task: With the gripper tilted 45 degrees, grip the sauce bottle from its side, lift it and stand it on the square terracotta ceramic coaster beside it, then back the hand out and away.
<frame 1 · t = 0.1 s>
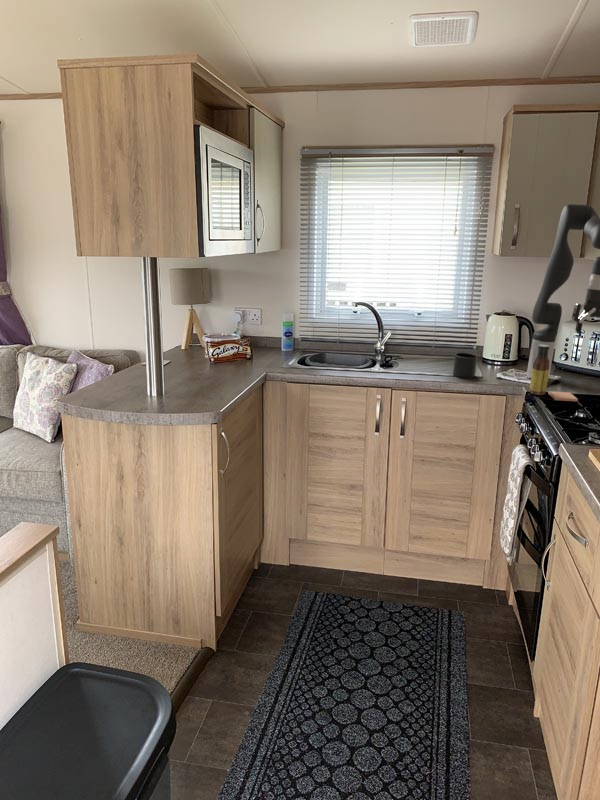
hand: (590, 333, 216), 29 cm above the counter, tool pointing down, fingers open, 8 cm apart
sauce bottle: (536, 394, 245), on the counter
coaster: (562, 397, 242), on the counter
mug: (462, 375, 268), on the counter
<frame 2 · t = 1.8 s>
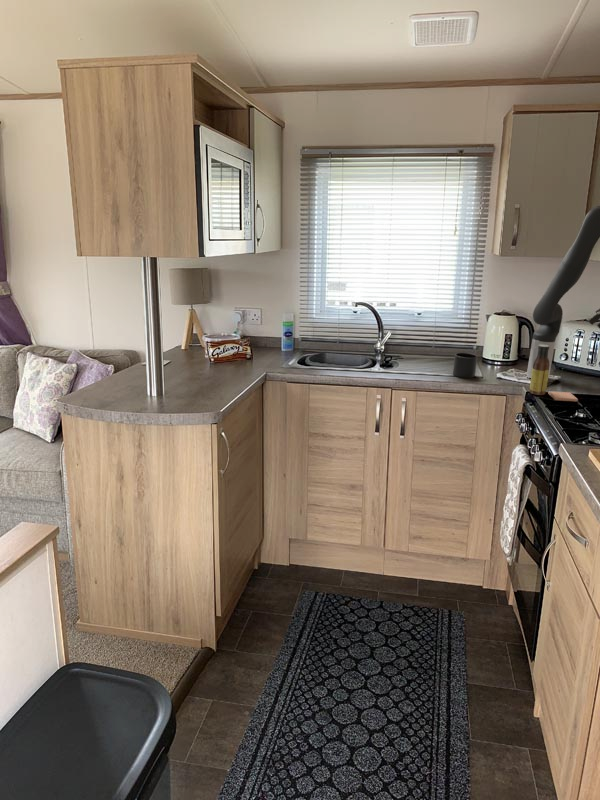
hand: (594, 324, 237), 29 cm above the counter, tool tilted 45°, fingers open, 8 cm apart
nothing on the counter moved.
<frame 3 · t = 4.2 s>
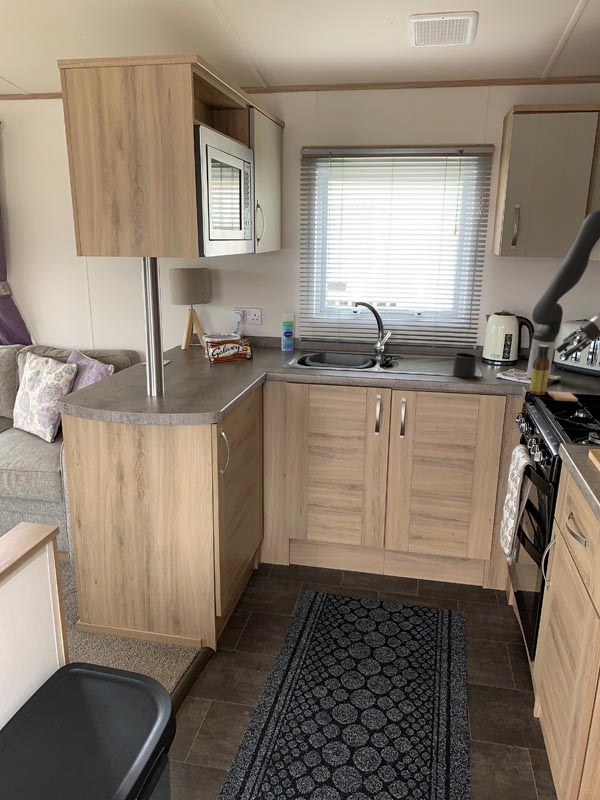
hand: (561, 353, 240), 17 cm above the counter, tool tilted 45°, fingers open, 8 cm apart
nothing on the counter moved.
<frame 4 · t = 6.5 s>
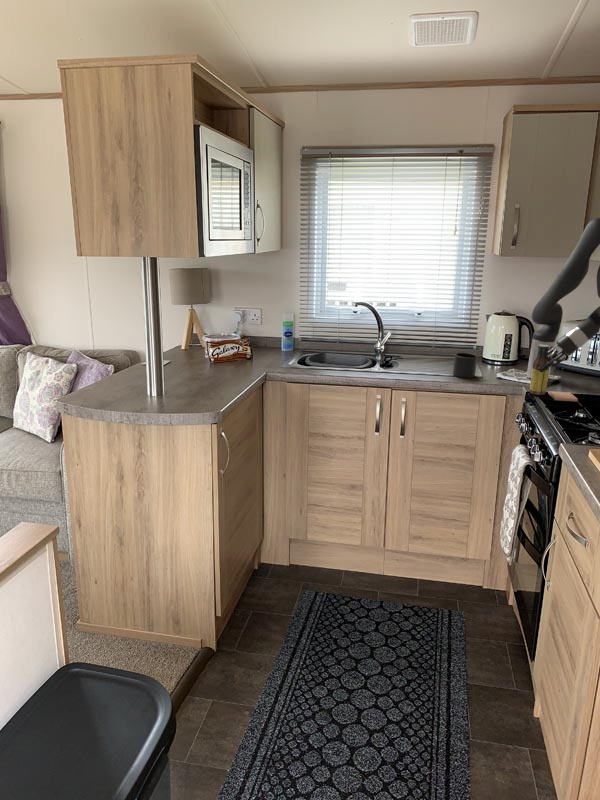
hand: (536, 368, 242), 10 cm above the counter, tool tilted 45°, fingers closed on sauce bottle, 6 cm apart
sauce bottle: (536, 394, 245), on the counter, touching gripper
everything else where it was.
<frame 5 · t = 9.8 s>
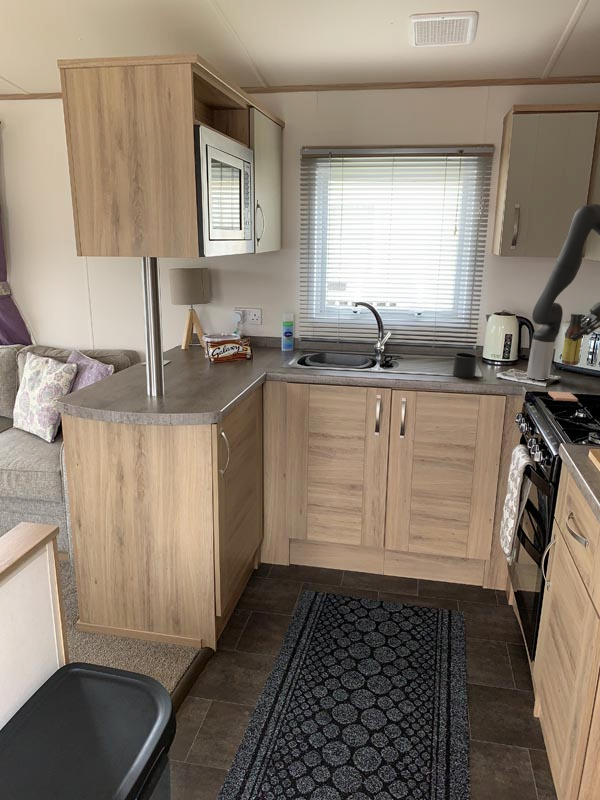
hand: (569, 337, 234), 24 cm above the counter, tool tilted 45°, fingers closed on sauce bottle, 6 cm apart
sauce bottle: (568, 364, 237), point 14 cm above the counter, touching gripper
everything else where it was.
when the fingers open (13 cm above the counter, at t = 13.0 s): sauce bottle drops 1 cm, resting on coaster.
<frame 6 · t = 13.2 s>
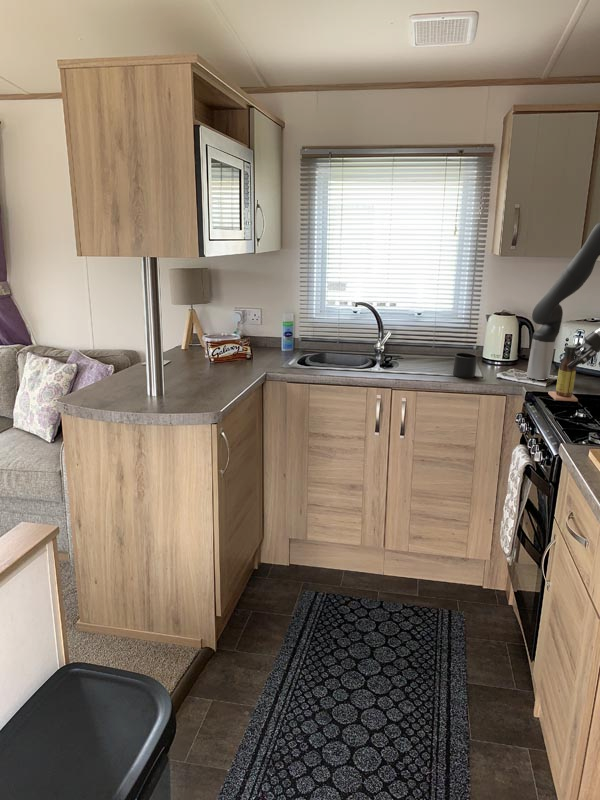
hand: (564, 365, 238), 13 cm above the counter, tool tilted 45°, fingers open, 8 cm apart
sauce bottle: (563, 395, 242), point 1 cm above the counter, touching coaster
everything else where it was.
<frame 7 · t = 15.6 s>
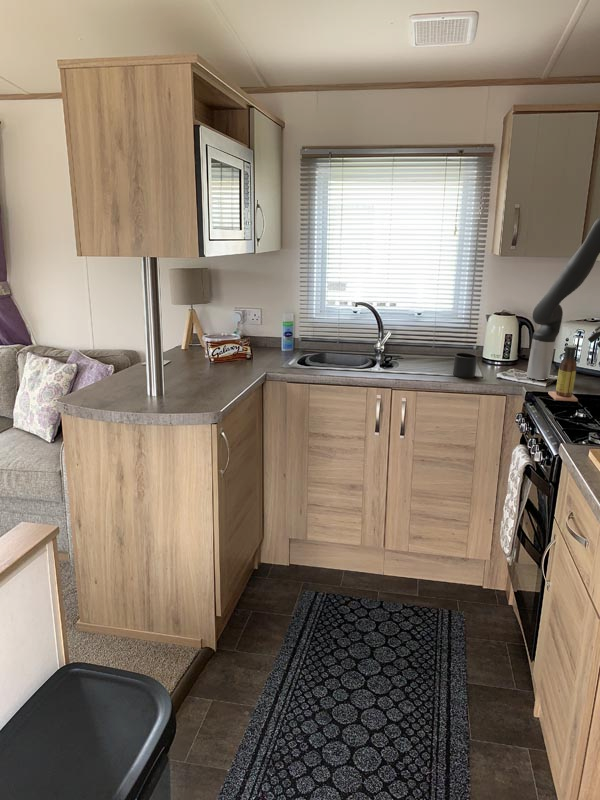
hand: (593, 343, 234), 22 cm above the counter, tool tilted 45°, fingers open, 8 cm apart
nothing on the counter moved.
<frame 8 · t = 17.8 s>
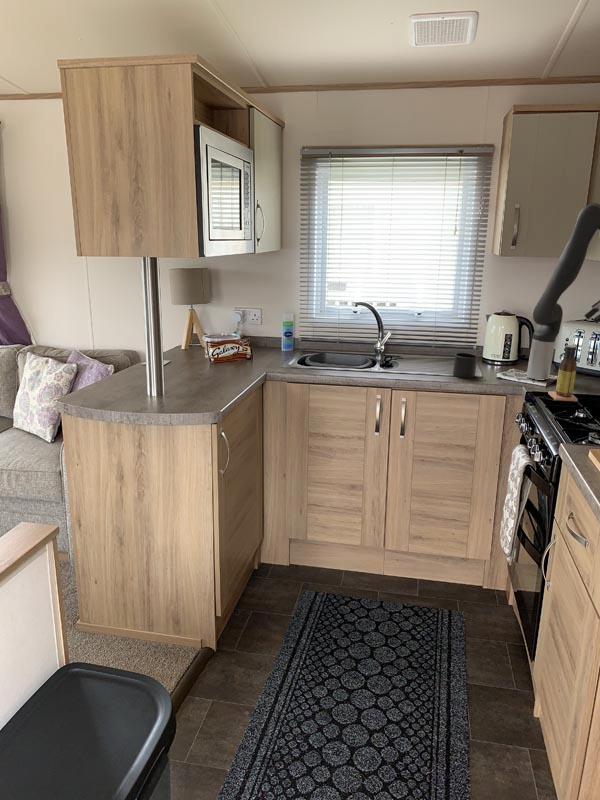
hand: (590, 319, 237), 31 cm above the counter, tool tilted 45°, fingers open, 8 cm apart
nothing on the counter moved.
at the end: sauce bottle 0.4 cm off-centre on the coaster, point 0.8 cm above the coaster's base; sauce bottle tilted 0°; the gripper is holding nothing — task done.
